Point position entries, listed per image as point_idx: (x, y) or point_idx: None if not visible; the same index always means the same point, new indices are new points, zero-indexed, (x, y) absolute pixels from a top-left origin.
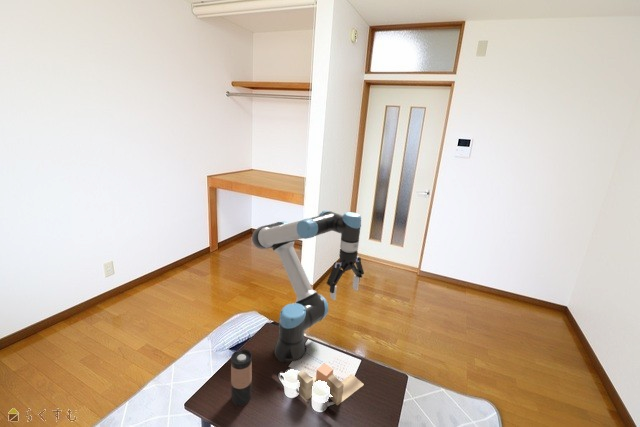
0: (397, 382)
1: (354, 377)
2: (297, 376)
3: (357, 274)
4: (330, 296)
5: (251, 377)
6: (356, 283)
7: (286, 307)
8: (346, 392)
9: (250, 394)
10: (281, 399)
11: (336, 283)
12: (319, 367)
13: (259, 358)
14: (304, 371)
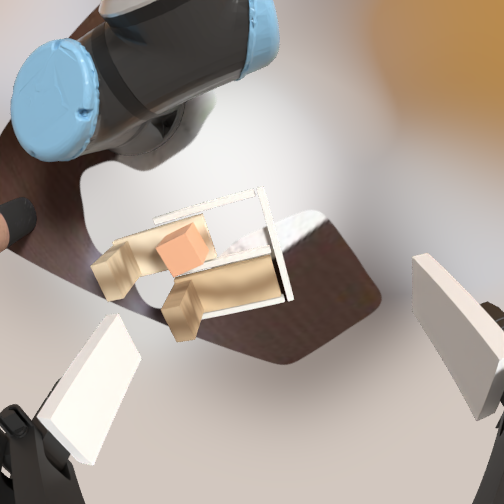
0: (366, 308)
1: (270, 269)
2: (95, 262)
3: (491, 458)
4: (103, 325)
5: (3, 241)
6: (445, 348)
7: (26, 72)
8: (225, 298)
9: (28, 228)
10: (85, 246)
11: (76, 487)
12: (165, 244)
13: None
14: (107, 267)
